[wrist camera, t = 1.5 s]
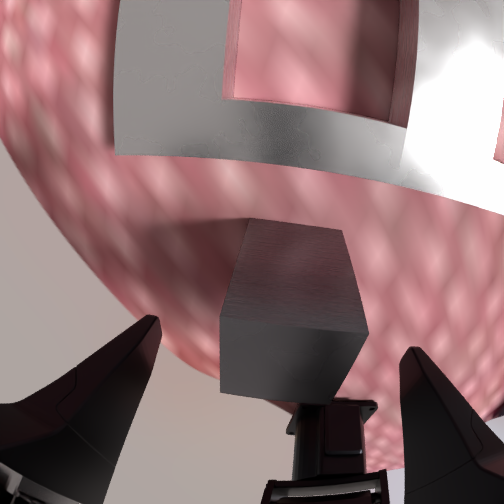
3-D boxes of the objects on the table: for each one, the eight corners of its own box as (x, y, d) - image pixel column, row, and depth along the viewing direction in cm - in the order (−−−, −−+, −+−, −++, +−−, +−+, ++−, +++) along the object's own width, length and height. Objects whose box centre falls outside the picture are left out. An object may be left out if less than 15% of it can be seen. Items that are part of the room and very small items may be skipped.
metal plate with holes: (557, 228, 9) (575, 244, 8) (139, 144, 11) (115, 155, 9) (584, 84, 4) (604, 90, 2) (156, -57, 6) (136, -72, 4)
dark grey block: (322, 300, 14) (329, 404, 9) (244, 290, 15) (220, 392, 9) (341, 230, 12) (368, 333, 7) (250, 217, 12) (219, 316, 7)
